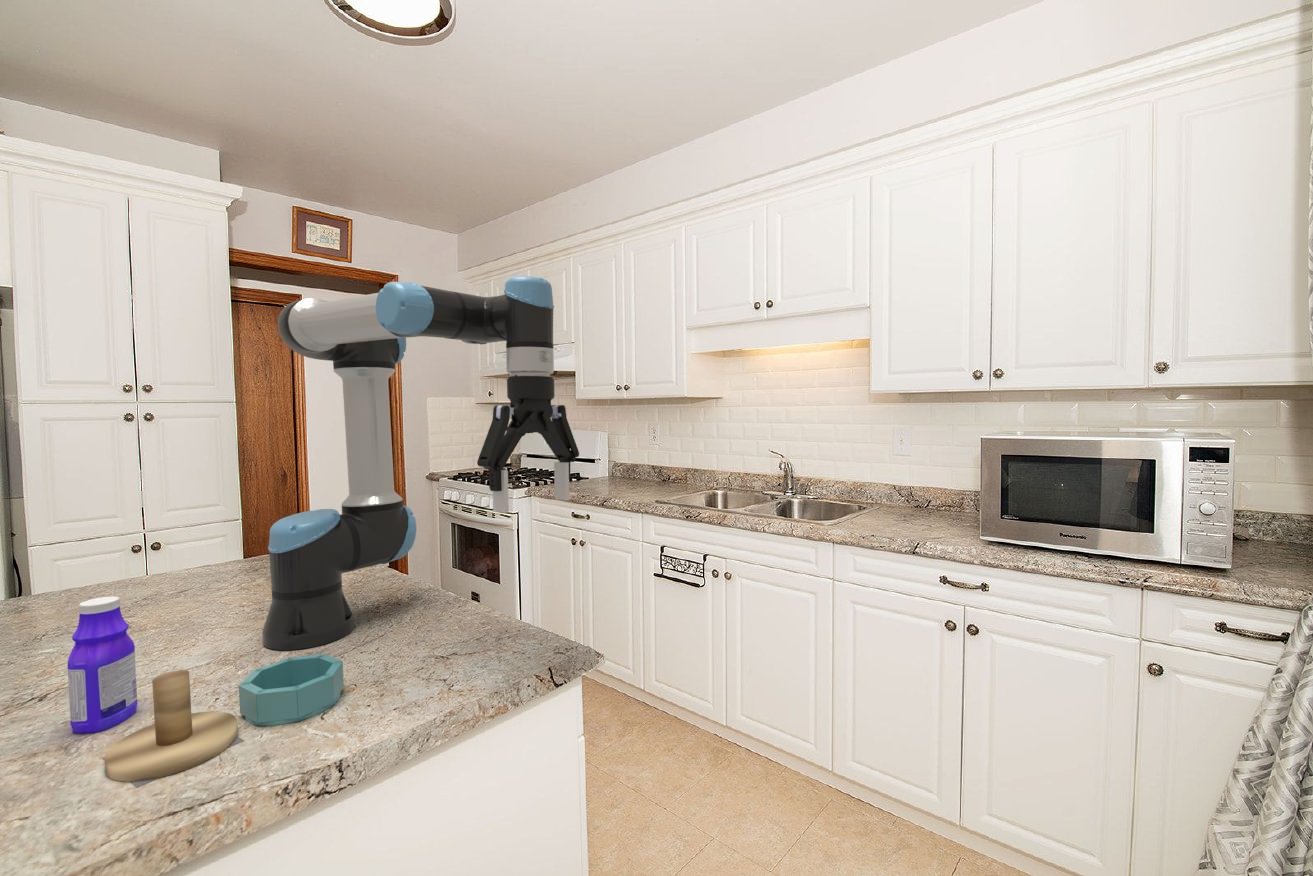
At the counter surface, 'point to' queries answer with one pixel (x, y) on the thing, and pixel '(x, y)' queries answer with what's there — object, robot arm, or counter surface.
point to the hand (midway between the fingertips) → (533, 505)
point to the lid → (171, 735)
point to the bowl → (291, 690)
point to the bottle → (101, 668)
